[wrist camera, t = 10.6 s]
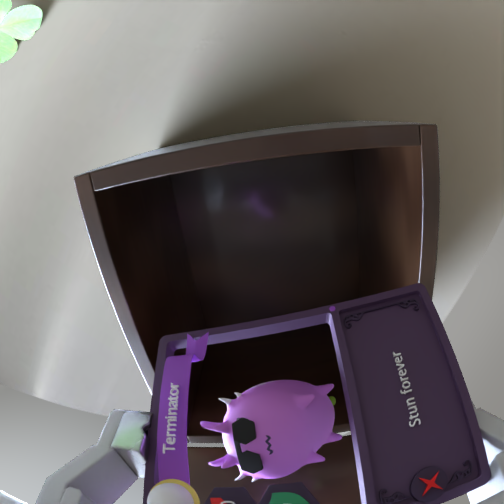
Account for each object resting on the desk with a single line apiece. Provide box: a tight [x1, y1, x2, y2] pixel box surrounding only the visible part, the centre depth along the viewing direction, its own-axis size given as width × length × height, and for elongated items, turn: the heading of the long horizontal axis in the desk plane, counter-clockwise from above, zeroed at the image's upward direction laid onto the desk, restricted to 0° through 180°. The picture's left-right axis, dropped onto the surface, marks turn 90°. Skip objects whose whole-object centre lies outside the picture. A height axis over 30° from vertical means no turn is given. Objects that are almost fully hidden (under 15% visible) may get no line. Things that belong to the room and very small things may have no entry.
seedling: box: [0, 0, 42, 63], centre depth 14 cm, size 7×8×7 cm
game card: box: [143, 283, 491, 504], centre depth 9 cm, size 7×5×9 cm
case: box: [74, 121, 440, 443], centre depth 18 cm, size 16×14×11 cm
